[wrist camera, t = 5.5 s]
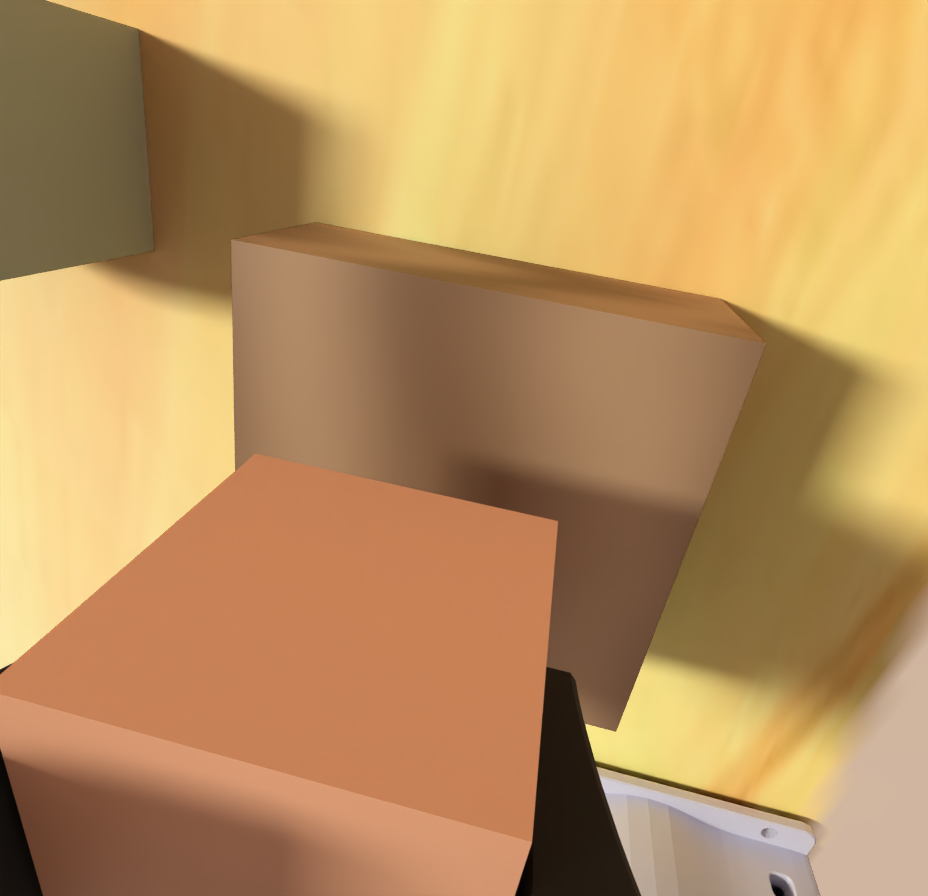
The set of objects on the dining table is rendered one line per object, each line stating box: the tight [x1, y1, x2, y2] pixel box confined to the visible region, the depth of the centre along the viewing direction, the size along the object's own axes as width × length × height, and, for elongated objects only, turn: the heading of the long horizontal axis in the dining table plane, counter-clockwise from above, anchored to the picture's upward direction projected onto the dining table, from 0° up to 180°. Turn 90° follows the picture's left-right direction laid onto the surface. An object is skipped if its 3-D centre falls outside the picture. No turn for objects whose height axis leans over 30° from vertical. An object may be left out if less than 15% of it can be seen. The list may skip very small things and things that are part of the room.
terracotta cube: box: [0, 454, 558, 896], centre depth 9 cm, size 5×5×5 cm
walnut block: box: [231, 222, 766, 732], centre depth 15 cm, size 10×10×4 cm
